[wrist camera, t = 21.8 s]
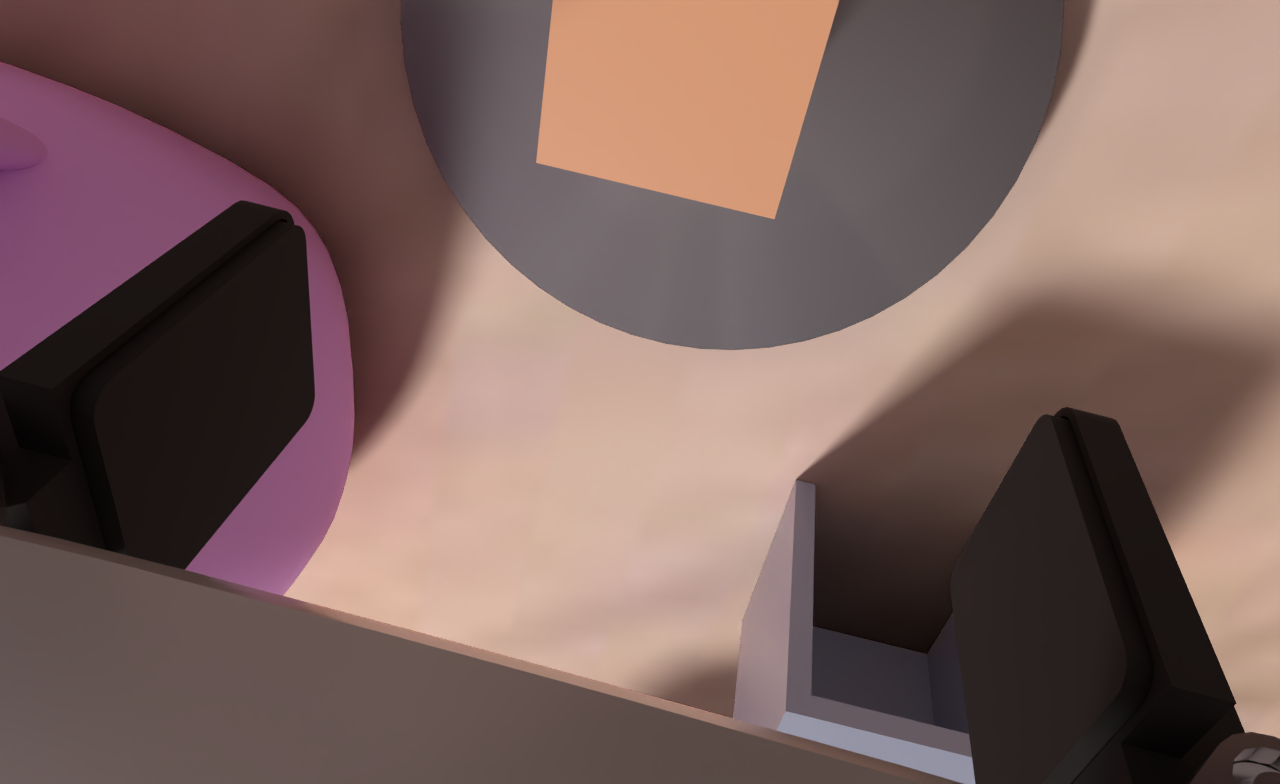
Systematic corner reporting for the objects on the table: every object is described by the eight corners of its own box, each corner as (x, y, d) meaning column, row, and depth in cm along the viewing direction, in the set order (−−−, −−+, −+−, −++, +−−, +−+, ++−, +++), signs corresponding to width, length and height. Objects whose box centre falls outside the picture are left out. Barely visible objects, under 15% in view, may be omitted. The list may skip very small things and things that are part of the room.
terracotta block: (788, 96, 19) (774, 219, 14) (608, 54, 19) (536, 162, 14) (846, -112, 17) (853, -46, 12) (639, -158, 17) (564, -111, 12)
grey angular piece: (937, 668, 31) (965, 909, 25) (742, 620, 31) (720, 846, 25) (1023, 534, 27) (1083, 785, 20) (796, 479, 27) (785, 710, 21)
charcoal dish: (1129, 202, 20) (1141, 221, 19) (614, 393, 26) (607, 414, 25) (909, -549, 14) (914, -567, 13) (293, -72, 20) (271, -63, 19)
